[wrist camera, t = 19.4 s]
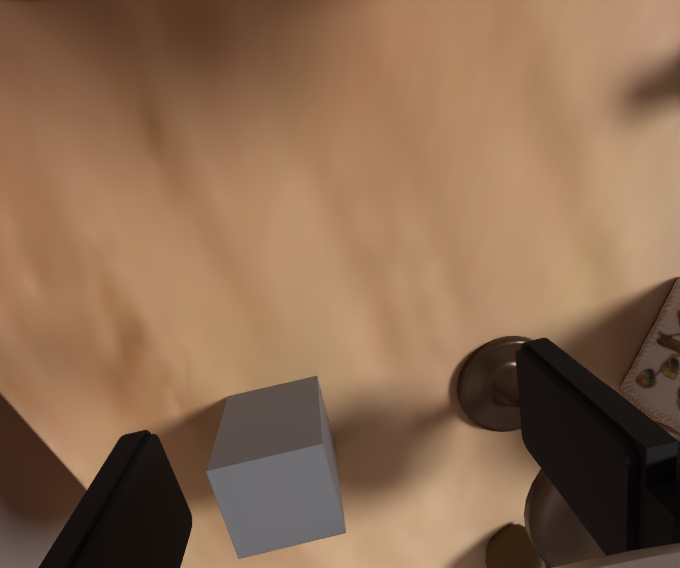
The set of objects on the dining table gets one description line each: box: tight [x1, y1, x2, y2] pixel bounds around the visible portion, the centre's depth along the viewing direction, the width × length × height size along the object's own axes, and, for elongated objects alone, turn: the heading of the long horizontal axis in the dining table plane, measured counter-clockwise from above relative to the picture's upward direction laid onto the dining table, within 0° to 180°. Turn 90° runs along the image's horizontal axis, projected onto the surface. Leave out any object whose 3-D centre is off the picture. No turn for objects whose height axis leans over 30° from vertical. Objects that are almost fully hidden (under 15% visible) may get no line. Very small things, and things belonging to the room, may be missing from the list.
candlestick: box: [457, 336, 680, 568], centre depth 21 cm, size 11×11×35 cm
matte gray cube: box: [206, 376, 346, 559], centre depth 32 cm, size 8×8×9 cm
